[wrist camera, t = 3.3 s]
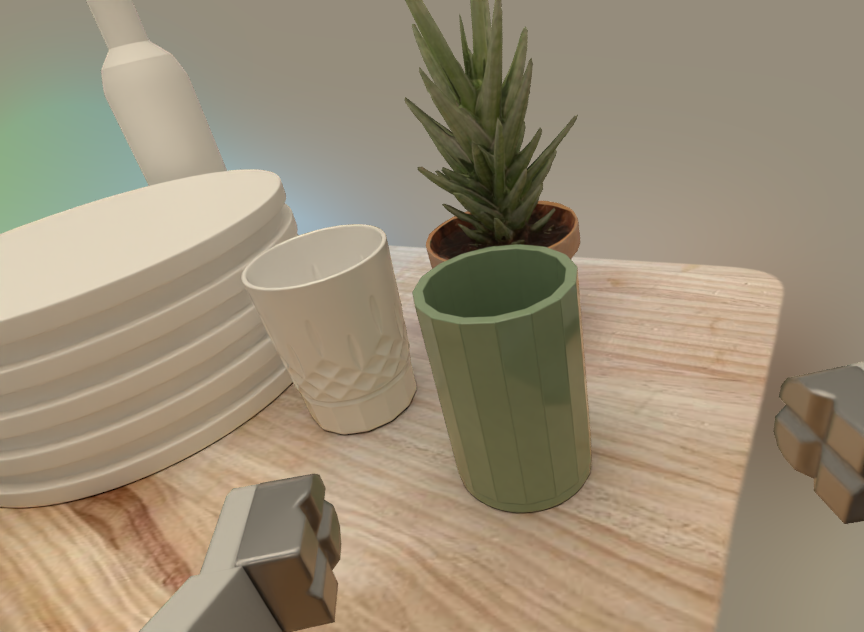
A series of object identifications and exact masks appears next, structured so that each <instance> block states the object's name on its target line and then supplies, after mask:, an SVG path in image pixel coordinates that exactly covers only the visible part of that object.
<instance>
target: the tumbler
mask: <svg viewBox="0 0 864 632" xmlns="http://www.w3.org/2000/svg"><path fill="white" fill-rule="evenodd" d="M413 299H414V304H415V308H416V312H417V316H418V320H419V323H420V327H421V331H422V335H423V339H424V343H425V346H426V350H427V354H428V358H429V362H430V365H431V369H432V373H433V377H434V381H435V385H436V388H437V392H438V396H439V400H440V404H441V407H442V411H443V415H444V419H445V423H446V427H447V430H448V434H449V438H450V442H451V446H452V449H453V453H454V457H455V461H456V465H457V468H458V472H459V475H460V478H461V480H462V482H463V484H464V486H465V487H466V488H467V490H468V491H469V492H470V493H471V494H472V495H473V496H474V497H475V498H477V499H478V500H479V501H481V502H483V503H485V504H486V505H488V506H491V507H493V508H496V509H500V510H503V511H509V512H522V513H525V512H535V511H541V510H545V509H548V508H551V507H554V506H556V505H558V504H561V503H562V502H564V501H566V500H567V499H569V498H570V497H572V496H573V495H574V494H575V493H576V492H577V491H578V490H579V489H580V488H581V487H582V486H583V484H584V483H585V481H586V479H587V477H588V475H589V473H590V470H591V464H592V454H591V431H590V418H589V406H588V393H587V381H586V368H585V356H584V343H583V331H582V318H581V306H580V293H579V281H578V268H577V266H576V265H575V264H574V263H573V261H572V260H571V259H570V258H569V257H568V256H567V255H566V254H564V253H561V252H558V251H556V250H553V249H550V248H547V247H543V246H532V245H521V244H519V245H518V244H516V245H505V246H493V247H487V248H483V249H479V250H475V251H471V252H467V253H464V254H461V255H458V256H456V257H454V258H452V259H449V260H447V261H445V262H442V263H440V264H438V265H437V266H436V267H434V268H433V269H432V270H430V271H429V272H428V273H426V274H425V275H424V276H422V277H421V279H420V280H419V282H418V284H417V285H416V287H415V289H414V290H413Z"/></svg>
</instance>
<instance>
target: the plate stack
mask: <svg viewBox="0 0 864 632" xmlns="http://www.w3.org/2000/svg"><path fill="white" fill-rule="evenodd" d="M285 200H286V193H285V191H284V188H283V185H282V183H281V180H280V178H279V176H278V175H276V174H275V173H273V172H269V171H265V170H232V171H222V172H215V173H208V174H202V175H197V176H192V177H186V178H182V179H177V180H172V181H168V182H164V183H159V184H155V185H151V186H147V187H143V188H139V189H136V190H132V191H128V192H125V193H122V194H118V195H114V196H111V197H107V198H104V199H101V200H98V201H94V202H91V203H87V204H84V205H81V206H78V207H75V208H72V209H69V210H66V211H63V212H60V213H57V214H54V215H51V216H48V217H45V218H42V219H40V220H37V221H34V222H31V223H29V224H26V225H23V226H20V227H17V228H15V229H12V230H9V231H7V232H4V233H2V234H0V507H11V508H24V507H37V506H46V505H52V504H58V503H63V502H68V501H73V500H77V499H81V498H85V497H89V496H92V495H96V494H99V493H102V492H106V491H109V490H112V489H115V488H117V487H120V486H123V485H126V484H129V483H131V482H134V481H136V480H139V479H141V478H144V477H146V476H149V475H151V474H153V473H155V472H158V471H160V470H162V469H164V468H166V467H169V466H171V465H173V464H175V463H177V462H179V461H181V460H183V459H185V458H187V457H189V456H191V455H192V454H194V453H196V452H198V451H200V450H202V449H203V448H205V447H207V446H209V445H210V444H212V443H214V442H215V441H217V440H219V439H220V438H222V437H223V436H225V435H227V434H228V433H230V432H231V431H233V430H234V429H236V428H237V427H239V426H240V425H242V424H243V423H244V422H246V421H247V420H249V419H250V418H251V417H253V416H254V415H255V414H257V413H258V412H259V411H261V410H262V409H263V408H264V407H266V406H267V405H268V404H269V403H271V402H272V401H273V400H274V399H275V398H276V397H278V396H279V395H280V394H281V393H282V392H283V391H284V390H285V389H286V388H287V387H288V386H289V385H290V384H291V383H292V382H293V381H292V379H291V377H290V375H289V373H288V371H287V369H286V367H285V366H284V364H283V362H282V360H281V358H280V356H279V354H278V353H277V351H276V349H275V347H274V345H273V343H272V341H271V339H270V337H269V335H268V333H267V331H266V329H265V327H264V325H263V322H262V320H261V318H260V316H259V314H258V312H257V310H256V308H255V306H254V304H253V302H252V300H251V298H250V296H249V294H248V292H247V290H246V288H245V286H244V284H243V282H242V279H241V276H242V272H243V270H244V269H245V267H246V266H247V265H248V264H249V263H250V262H251V261H252V260H253V259H254V258H256V257H257V256H258V255H260V254H261V253H263V252H264V251H266V250H268V249H270V248H271V247H273V246H275V245H277V244H279V243H282V242H284V241H286V240H289V239H291V238H294V237H296V236H299V235H298V234H297V224H296V221H295V218H294V216H293V213H292V210H291V209H290V207H289V206H288V205H286V204H285Z"/></svg>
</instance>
